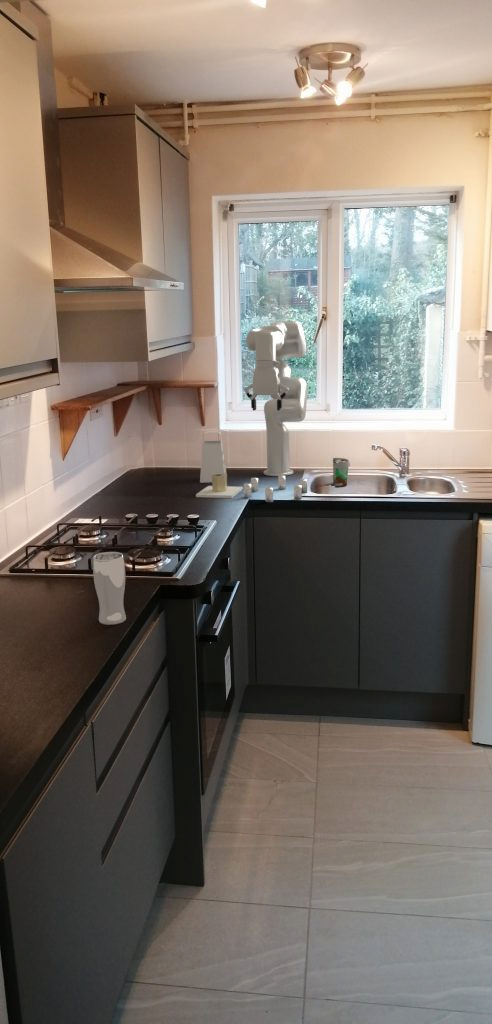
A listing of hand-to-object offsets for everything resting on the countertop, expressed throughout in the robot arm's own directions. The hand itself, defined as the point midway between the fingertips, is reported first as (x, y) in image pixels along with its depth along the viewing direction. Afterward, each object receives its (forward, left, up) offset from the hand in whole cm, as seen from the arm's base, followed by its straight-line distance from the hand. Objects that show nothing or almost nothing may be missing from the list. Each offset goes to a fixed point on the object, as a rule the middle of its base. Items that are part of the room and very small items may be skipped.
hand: (266, 410), depth 313 cm
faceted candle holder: (+13, -16, -29) cm, 36 cm away
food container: (-8, +28, -31) cm, 42 cm away
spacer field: (+13, +6, -30) cm, 34 cm away
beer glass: (+146, -2, -31) cm, 149 cm away
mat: (+13, -16, -30) cm, 37 cm away
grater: (-12, -26, -31) cm, 42 cm away
